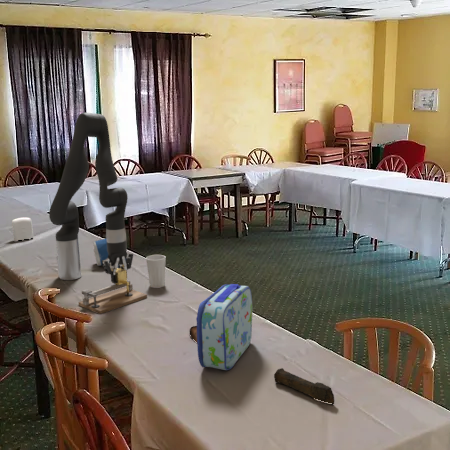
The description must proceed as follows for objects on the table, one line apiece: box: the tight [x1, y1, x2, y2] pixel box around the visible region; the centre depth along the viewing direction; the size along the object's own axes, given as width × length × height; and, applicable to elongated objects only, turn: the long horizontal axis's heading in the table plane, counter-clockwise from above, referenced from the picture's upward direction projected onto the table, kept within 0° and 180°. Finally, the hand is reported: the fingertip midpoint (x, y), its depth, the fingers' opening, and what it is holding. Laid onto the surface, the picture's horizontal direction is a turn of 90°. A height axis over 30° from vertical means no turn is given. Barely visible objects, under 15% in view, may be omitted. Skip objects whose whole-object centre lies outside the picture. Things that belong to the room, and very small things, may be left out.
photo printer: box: [11, 216, 34, 242], centre depth 323 cm, size 10×4×12 cm, turn 117°
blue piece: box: [93, 238, 126, 268], centre depth 275 cm, size 13×15×15 cm
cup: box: [145, 254, 167, 289], centre depth 244 cm, size 8×8×12 cm
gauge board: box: [78, 279, 148, 315], centre depth 228 cm, size 14×22×6 cm, turn 137°
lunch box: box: [196, 283, 253, 371], centre depth 178 cm, size 26×11×21 cm, turn 160°
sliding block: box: [116, 267, 129, 295], centre depth 232 cm, size 8×4×9 cm, turn 47°
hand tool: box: [273, 367, 335, 405], centre depth 157 cm, size 19×4×5 cm, turn 41°
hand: (119, 281), depth 233 cm, fingers closed on sliding block, 4 cm apart
